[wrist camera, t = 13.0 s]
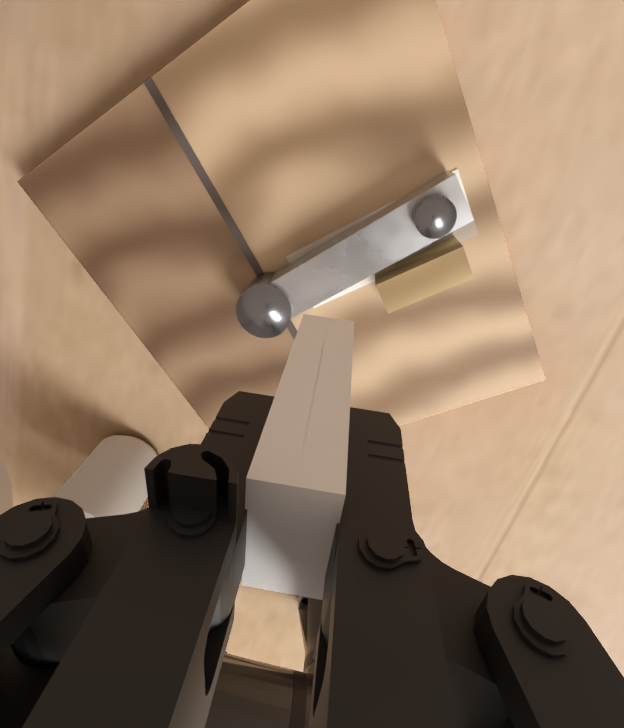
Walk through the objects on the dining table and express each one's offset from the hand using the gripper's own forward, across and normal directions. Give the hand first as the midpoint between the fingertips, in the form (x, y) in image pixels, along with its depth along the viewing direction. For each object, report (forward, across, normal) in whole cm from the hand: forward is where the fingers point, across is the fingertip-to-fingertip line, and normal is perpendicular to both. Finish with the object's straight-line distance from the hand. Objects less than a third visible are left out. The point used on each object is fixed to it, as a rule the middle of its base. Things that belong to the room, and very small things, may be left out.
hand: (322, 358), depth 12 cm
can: (+21, -20, -28) cm, 40 cm away
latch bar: (+19, 0, -1) cm, 19 cm away
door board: (+21, -3, -4) cm, 21 cm away
